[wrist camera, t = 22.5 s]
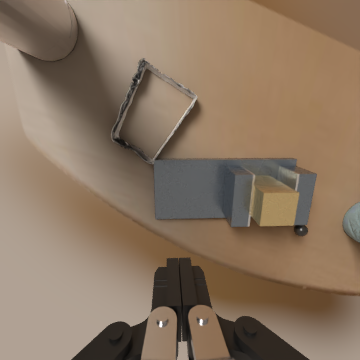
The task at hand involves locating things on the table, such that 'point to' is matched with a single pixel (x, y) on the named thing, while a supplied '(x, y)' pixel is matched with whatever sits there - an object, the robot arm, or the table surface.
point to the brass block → (273, 202)
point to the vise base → (222, 186)
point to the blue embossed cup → (353, 222)
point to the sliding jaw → (238, 196)
